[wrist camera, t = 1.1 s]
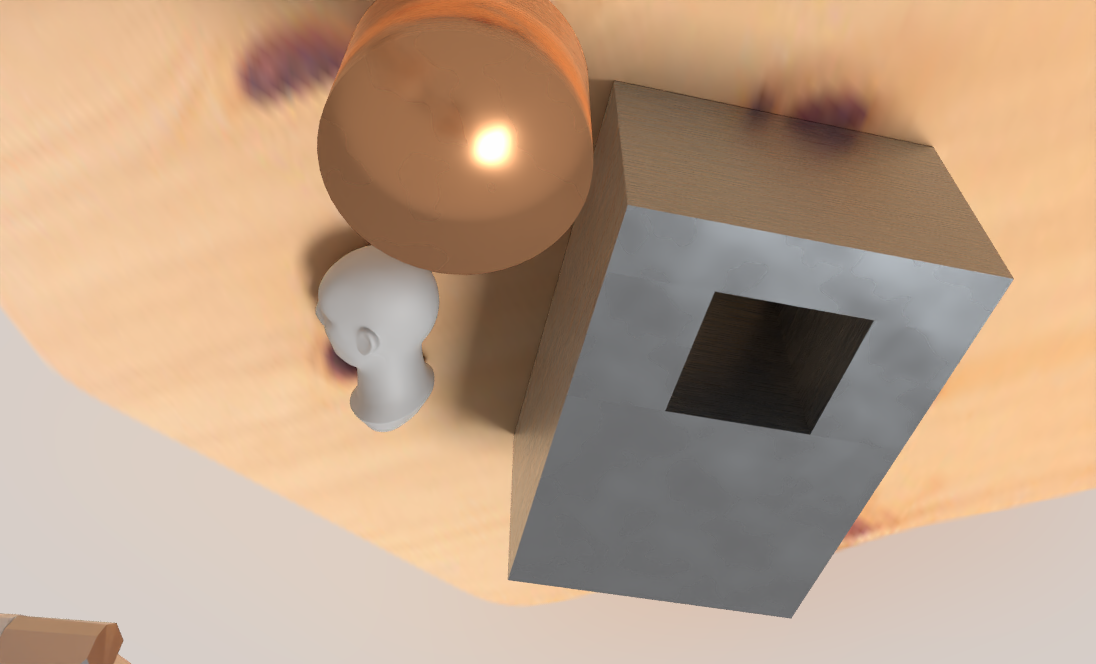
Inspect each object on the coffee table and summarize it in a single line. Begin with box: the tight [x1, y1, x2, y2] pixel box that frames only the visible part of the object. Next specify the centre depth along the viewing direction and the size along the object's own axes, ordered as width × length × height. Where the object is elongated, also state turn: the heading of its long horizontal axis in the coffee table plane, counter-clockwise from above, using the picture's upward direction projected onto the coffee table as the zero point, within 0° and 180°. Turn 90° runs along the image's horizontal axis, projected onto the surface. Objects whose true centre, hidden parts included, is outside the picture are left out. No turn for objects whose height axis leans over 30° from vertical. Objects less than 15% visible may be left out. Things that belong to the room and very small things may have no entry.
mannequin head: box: [315, 245, 439, 432], centre depth 39 cm, size 4×8×5 cm
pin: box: [317, 0, 594, 275], centre depth 28 cm, size 7×7×11 cm
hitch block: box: [508, 81, 1014, 618], centre depth 37 cm, size 12×18×8 cm, turn 168°
